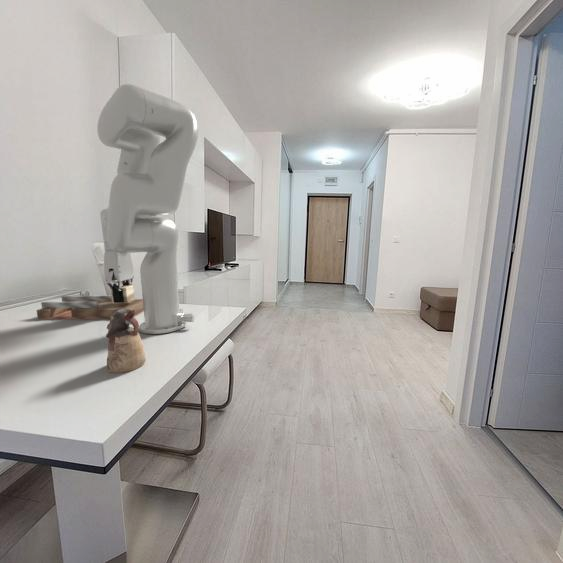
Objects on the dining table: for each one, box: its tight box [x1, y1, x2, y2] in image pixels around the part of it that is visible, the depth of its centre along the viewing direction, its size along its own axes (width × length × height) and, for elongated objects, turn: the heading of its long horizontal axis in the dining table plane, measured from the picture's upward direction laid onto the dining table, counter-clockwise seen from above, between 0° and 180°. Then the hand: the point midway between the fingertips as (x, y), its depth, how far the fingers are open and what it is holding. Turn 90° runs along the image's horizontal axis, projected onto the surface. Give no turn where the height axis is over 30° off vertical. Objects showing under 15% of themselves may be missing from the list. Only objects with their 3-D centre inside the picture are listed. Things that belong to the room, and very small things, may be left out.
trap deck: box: [36, 295, 144, 320], centre depth 98 cm, size 30×14×5 cm, turn 91°
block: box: [110, 284, 135, 303], centre depth 97 cm, size 5×5×5 cm
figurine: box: [105, 309, 147, 374], centre depth 59 cm, size 7×7×12 cm
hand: (123, 299), depth 98 cm, fingers closed on block, 5 cm apart
